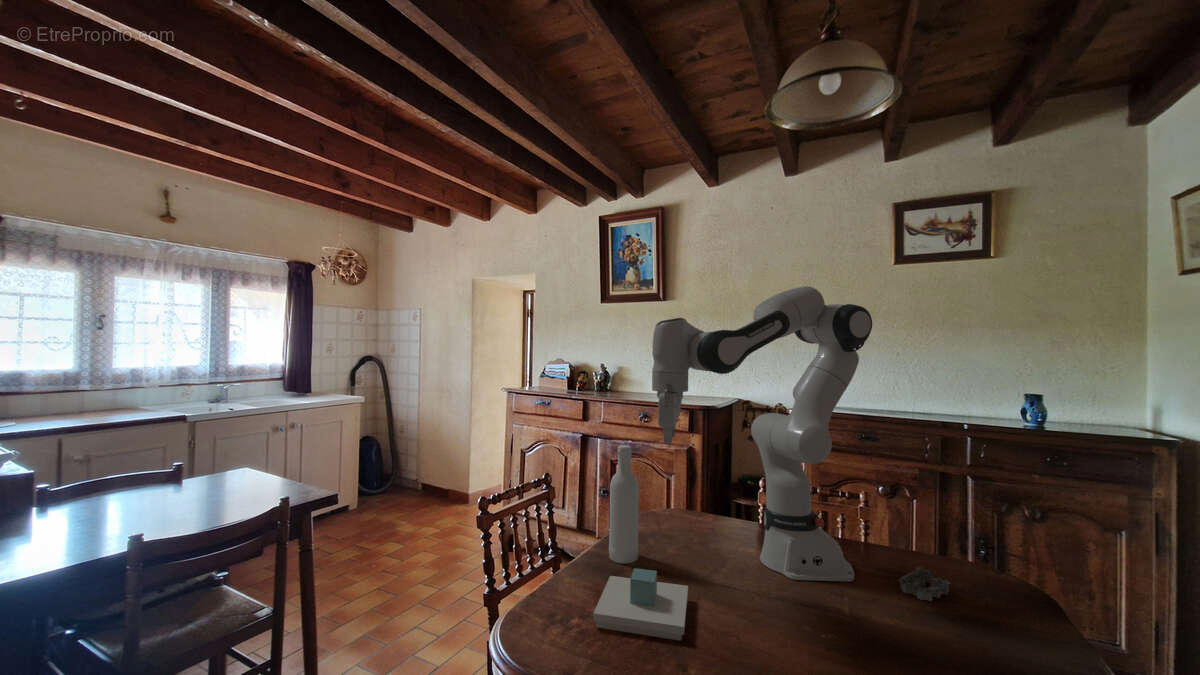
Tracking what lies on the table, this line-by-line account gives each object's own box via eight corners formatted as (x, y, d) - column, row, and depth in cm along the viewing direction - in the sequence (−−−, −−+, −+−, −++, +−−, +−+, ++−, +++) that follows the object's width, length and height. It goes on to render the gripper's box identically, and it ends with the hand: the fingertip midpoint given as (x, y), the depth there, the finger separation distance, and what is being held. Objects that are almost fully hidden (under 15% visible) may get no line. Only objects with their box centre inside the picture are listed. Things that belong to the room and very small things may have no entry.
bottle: (644, 557, 125) (645, 446, 126) (626, 567, 119) (627, 450, 120) (621, 548, 130) (622, 441, 131) (602, 557, 124) (604, 445, 125)
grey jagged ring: (922, 581, 114) (922, 564, 114) (955, 596, 107) (955, 578, 107) (893, 589, 110) (893, 572, 110) (926, 605, 103) (926, 586, 103)
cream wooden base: (688, 599, 104) (688, 585, 104) (684, 642, 88) (684, 626, 88) (610, 588, 108) (610, 575, 108) (593, 628, 93) (593, 613, 93)
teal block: (656, 594, 100) (656, 570, 100) (653, 606, 95) (654, 582, 96) (634, 591, 101) (634, 568, 102) (630, 603, 97) (630, 579, 97)
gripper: (680, 387, 102) (679, 449, 102) (685, 381, 122) (684, 434, 122) (652, 386, 104) (651, 448, 104) (661, 381, 124) (661, 432, 123)
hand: (669, 440), depth 113 cm, fingers open, 8 cm apart
